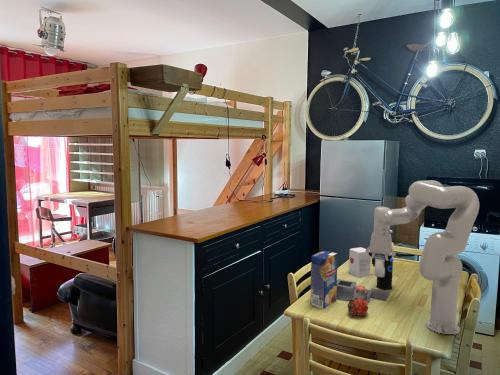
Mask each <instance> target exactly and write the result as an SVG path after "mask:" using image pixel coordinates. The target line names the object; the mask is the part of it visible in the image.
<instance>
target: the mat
mask: <svg viewBox="0 0 500 375" xmlns="http://www.w3.org/2000/svg"><path fill="white" fill-rule="evenodd" d="M370 290H373V293H372V295H371V298H370V299H373V300H379V301H380V300H381V301H384V302H386V301H388V298H389V294H390V292H391V290H381V289H379V288H371V289H370Z"/></svg>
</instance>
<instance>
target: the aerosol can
mask: <svg viewBox="0 0 500 375" xmlns="http://www.w3.org/2000/svg"><path fill="white" fill-rule="evenodd" d="M380 255H381V256H384V258H385V255H383V254H380ZM388 256H390V255H388ZM385 259H386V258H385ZM393 268H394V258H393V257H392V258H391V259H389V260H388V266H387V267H386V268H385V276H384V277H376V285H375V287H376V289H379V290H385V291H391V290H392V289H393V270H394V269H393Z"/></svg>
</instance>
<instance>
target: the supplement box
mask: <svg viewBox="0 0 500 375" xmlns="http://www.w3.org/2000/svg"><path fill="white" fill-rule="evenodd" d="M366 249H367V248H364V247H362V246H360V247H353V248H349V259H348V262H349V263H348V273H349V274H350V275H352V276H355V277H357V278H363V277H367V276H368V277H369V276H371V264H372V258H371V257H370V255H369V254H368V253H367V252H366V251H365V250H366ZM369 251H370V250H369Z"/></svg>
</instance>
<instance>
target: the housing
mask: <svg viewBox="0 0 500 375" xmlns="http://www.w3.org/2000/svg"><path fill="white" fill-rule="evenodd" d="M356 286H357V282H356V281H351V280H347V279H346V280H345V279H339V278H337V294H336V300H340V301H346V302H349V300H350V299H354V298H363V299H364V300H366V301H367V303H368V304H369V302H370V300H371V299H372V298H371V295H372V293H373V290H371V289H367V288H366V290H365V291H364V293H360V292H357V290H356Z"/></svg>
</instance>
